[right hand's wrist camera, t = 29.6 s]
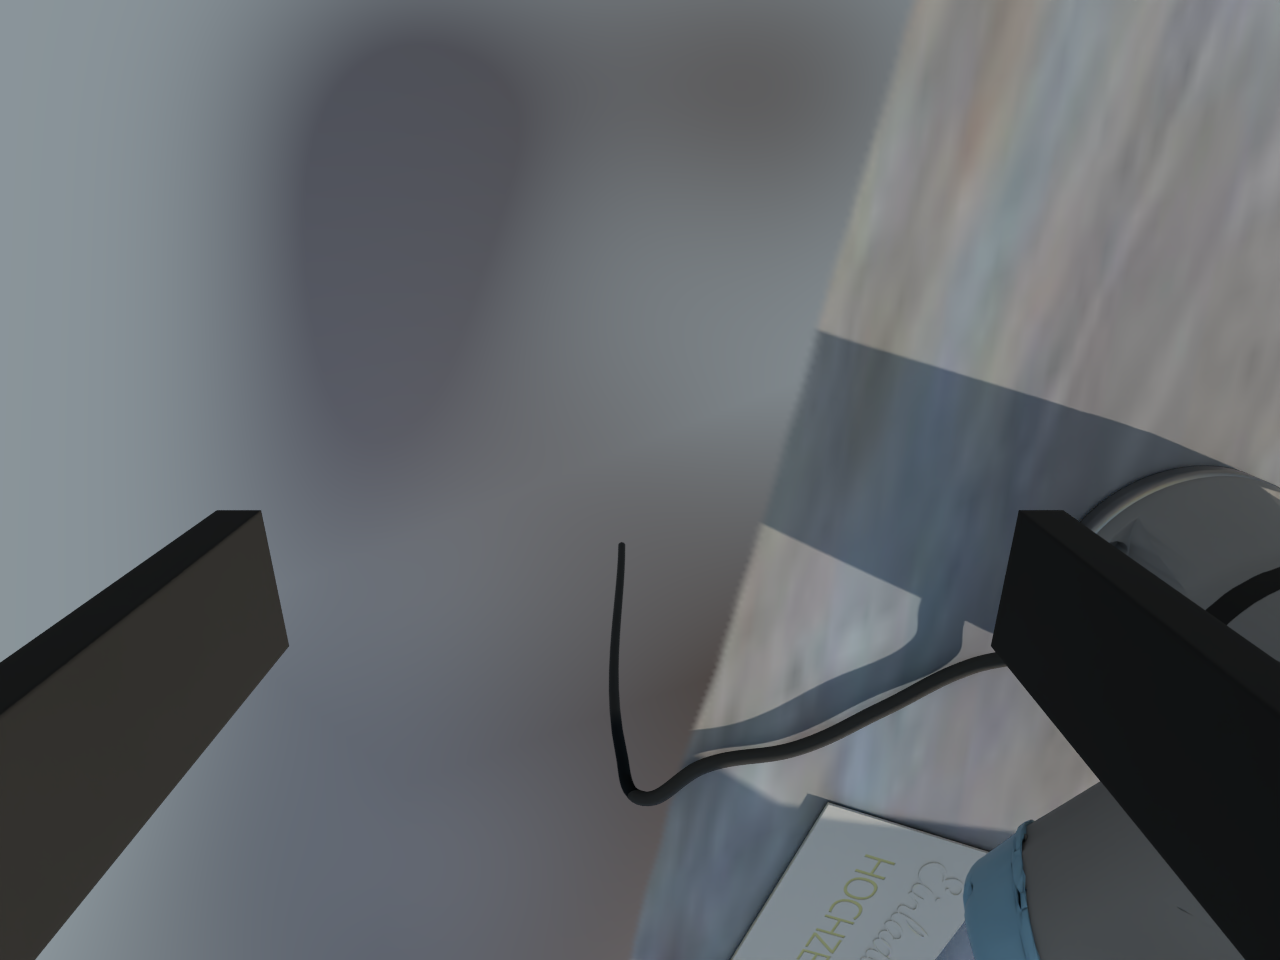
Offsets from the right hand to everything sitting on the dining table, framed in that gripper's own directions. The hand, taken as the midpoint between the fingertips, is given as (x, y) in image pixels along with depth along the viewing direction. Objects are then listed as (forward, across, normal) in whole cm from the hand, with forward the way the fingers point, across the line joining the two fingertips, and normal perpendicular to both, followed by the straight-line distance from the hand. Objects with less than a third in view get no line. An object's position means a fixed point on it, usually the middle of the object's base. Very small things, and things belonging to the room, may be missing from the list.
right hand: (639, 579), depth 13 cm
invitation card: (+28, -17, +46) cm, 56 cm away
